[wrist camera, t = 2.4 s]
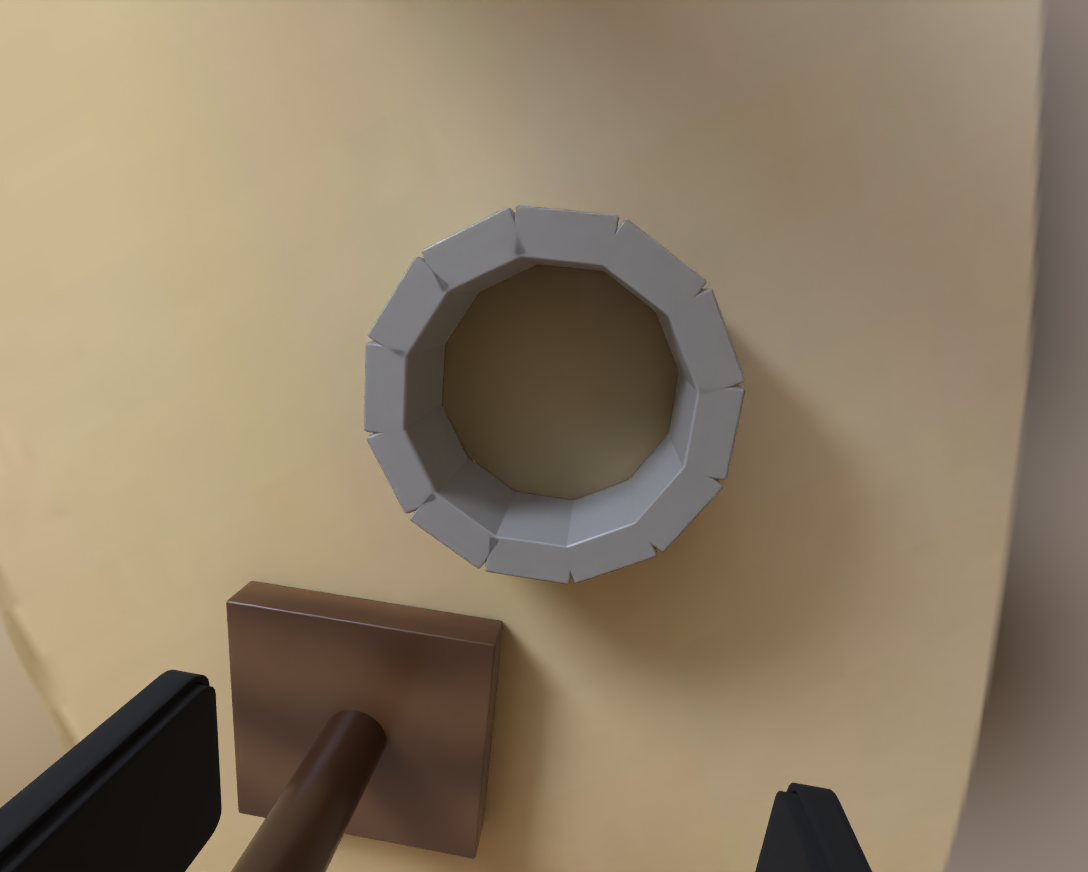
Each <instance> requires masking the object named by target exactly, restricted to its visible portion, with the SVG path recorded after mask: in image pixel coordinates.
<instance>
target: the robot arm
mask: <svg viewBox="0 0 1088 872" xmlns="http://www.w3.org/2000/svg"><path fill="white" fill-rule="evenodd" d="M220 816H221V789H220V770H219V750H218V731H217V712H216V693H215V689H214V688H213V687H211V686H209V681H208V678H207V677H206V676H204V675H199V674H193V673H188V672H182V671H177V670H169V671H166V672H165V673H163V674H162V675H160V676H159V677H158V678H157V679H155V680H154V681H153V682H152V683H150V684H149V685H148V686H147V687H146V688H144V689H143V690H142V691H141V692H140V693H138V694H137V695H136V696H135V697H134V698H132V699H131V700H130V701H129V702H128V703H126V704H125V705H124V706H123V707H122V708H120V709H119V710H118V711H117V712H116V713H114V714H113V715H112V716H111V717H110V718H108V719H107V720H106V721H105V722H104V723H102V724H101V725H100V726H99V727H98V728H96V729H95V730H94V731H93V732H91V733H90V734H89V735H88V736H87V737H85V738H84V739H83V740H82V741H81V742H79V743H78V744H77V745H76V746H75V747H73V748H72V749H71V750H70V751H69V752H67V753H66V754H65V755H64V756H63V757H62V758H60V759H59V760H58V761H57V762H55V763H54V764H53V765H52V766H51V767H49V768H48V769H47V770H46V771H45V772H43V773H42V774H41V775H40V776H39V777H37V778H36V779H35V780H34V781H33V782H31V783H30V784H29V785H28V786H27V787H25V788H24V789H23V790H22V791H20V792H19V793H18V794H17V795H16V796H14V797H13V798H12V799H11V800H10V801H9V802H7V803H6V804H5V805H4V806H2V807H1V808H0V872H185V871H186V869H187V868H188V867H189V865H190V864H191V863H192V861H193V860H194V859H195V857H196V856H197V855H198V853H199V852H200V851H201V849H202V848H203V847H204V845H205V844H206V843H207V841H208V840H209V839H210V837H211V836H212V834H213V833H214V831H215V829H216V827H217V825H218V822H219V819H220ZM755 872H872V871H871V869H870V866H869V864H868V862H867V860H866V858H865V856H864V854H863V851H862V849H861V847H860V845H859V843H858V841H857V838H856V836H855V834H854V832H853V830H852V828H851V825H850V823H849V821H848V819H847V817H846V815H845V812H844V810H843V808H842V806H841V804H840V802H839V799H838V798H837V796H836V794H835V793H834V792H833V791H832V790H831V789H825V788H820V787H814V786H809V785H803V784H798V783H791V784H790V785H789V787H788V789H787V792H783V791H779V792H778V793H777V794H776V797H775V800H774V804H773V808H772V812H771V815H770V819H769V823H768V826H767V830H766V834H765V838H764V841H763V845H762V849H761V853H760V856H759V860H758V864H757V867H756V871H755Z"/></svg>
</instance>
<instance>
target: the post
mask: <svg viewBox="0 0 1088 872" xmlns="http://www.w3.org/2000/svg"><path fill="white" fill-rule="evenodd" d="M226 605H227V622H228V639H229V656H230V673H231V690H232V707H233V724H234V741H235V758H236V775H237V792H238V809H239V812H240V813H243V814H249V815H254V816H259V817H264V818H266V819H265V820H264V822H263V823H262V825H261V826H260V828H259V829H258V831H257V832H256V834H255V836H254V837H253V839H252V840H251V842H250V843H249V845H248V846H247V848H246V849H245V851H244V853H243V854H242V856H241V857H240V859H239V860H238V862H237V863H236V865H235V867H234V868H233V870H232V871H231V872H326V870H327V868H328V866H329V864H330V862H331V860H332V858H333V855H334V853H335V851H336V849H337V847H338V845H339V843H340V841H341V839H342V837H343V835H344V833H345V834H351V835H356V836H361V837H366V838H371V839H376V840H381V841H386V842H391V843H396V844H401V845H407V846H412V847H417V848H422V849H427V850H432V851H437V852H442V853H447V854H452V855H458V856H463V857H468V858H473V859H474V858H475V857H476V853H477V849H478V845H479V840H480V836H481V832H482V827H483V820H484V810H485V800H486V790H487V780H488V770H489V759H490V749H491V739H492V729H493V719H494V709H495V699H496V689H497V679H498V668H499V658H500V648H501V638H502V628H503V622H502V621H498V620H492V619H485V618H479V617H473V616H467V615H460V614H454V613H448V612H442V611H436V610H429V609H423V608H417V607H411V606H404V605H398V604H392V603H386V602H379V601H373V600H367V599H361V598H355V597H348V596H342V595H336V594H330V593H323V592H317V591H311V590H305V589H299V588H292V587H286V586H280V585H274V584H267V583H261V582H255V581H251V582H249V583H248V584H247V585H246V586H245V587H243V588H242V589H241V590H240V591H238V592H237V593H236V594H235V595H234V596H232V597H231V598H230V599H229V600H227V603H226Z"/></svg>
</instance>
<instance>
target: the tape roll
mask: <svg viewBox="0 0 1088 872" xmlns="http://www.w3.org/2000/svg"><path fill="white" fill-rule="evenodd" d="M618 220H619V217H618V215H612V214H602V213H592V212H581V211H571V210H561V209H551V208H541V207H531V206H521V205H518V206H517V207H516V213H515V212H514V211H513V210H512V209H510V208H509V207H507V208H505V209H503V210H501V211H499V212H497V213H495V214H493V215H491V216H489V217H487V218H485V219H483V220H481V221H479V222H477V223H475V224H473V225H471V226H469V227H467V228H465V229H463V230H461V231H459V232H457V233H455V234H453V235H451V236H449V237H447V238H445V239H444V240H442V241H440V242H438V243H436V244H434V245H432V246H430V247H428V248H426V249H424V250H422V254H423V257H424V258H421V257H415V258H414V260H413V261H412V263H411V265H410V266H409V268H408V269H407V271H406V273H405V274H404V276H403V278H402V279H401V281H400V283H399V284H398V286H397V288H396V289H395V291H394V292H393V294H392V296H391V297H390V299H389V301H388V302H387V304H386V306H385V307H384V309H383V310H382V312H381V314H380V315H379V317H378V319H377V320H376V322H375V324H374V325H373V327H372V328H371V330H370V332H369V333H368V336H369V337H370V338H371V339H372V340H374V341H372V342H368V343H366V351H365V409H364V430H365V431H367V432H373V434H371V435H369V436H368V437H367V441H368V443H369V445H370V447H371V449H372V451H373V453H374V455H375V457H376V458H377V460H378V462H379V464H380V466H381V468H382V470H383V472H384V474H385V476H386V478H387V480H388V481H389V483H390V485H391V487H392V489H393V491H394V493H395V495H396V497H397V499H398V501H399V503H400V504H401V506H402V508H403V510H404V512H405V513H411V512H413V511H415V512H414V514H413V515H412V516H411V518H410V520H411V521H412V522H413V523H415V524H416V525H418V526H419V527H420V528H422V529H423V530H425V531H426V532H427V533H429V534H430V535H432V536H433V537H434V538H436V539H437V540H439V541H440V542H441V543H443V544H444V545H446V546H447V547H449V548H450V549H451V550H453V551H454V552H456V553H457V554H458V555H460V556H461V557H463V558H464V559H465V560H467V561H468V562H470V563H471V564H472V565H474V566H475V567H477V568H478V569H479V568H481V566H482V565H483V564H484V563H485V561H486V565H485V570H486V571H487V572H492V573H499V574H505V575H512V576H518V577H525V578H531V579H538V580H544V581H551V582H557V583H564V584H569V583H570V578H571V575H572V577H573V579H574V581H575V582H576V583H579V582H582V581H585V580H588V579H591V578H594V577H597V576H600V575H603V574H606V573H609V572H612V571H615V570H618V569H621V568H624V567H626V566H629V565H632V564H635V563H638V562H641V561H644V560H647V559H650V558H653V557H656V556H657V551H656V548H657V549H659V550H660V551H662V552H664V551H665V550H666V549H667V548H668V547H669V546H670V545H671V543H672V542H673V541H674V540H675V539H676V538H677V537H678V536H679V535H680V534H681V533H682V531H683V530H684V529H685V528H686V527H687V526H688V525H689V524H690V523H691V522H692V521H693V519H694V518H695V517H696V516H697V515H698V514H699V513H700V512H701V511H702V510H703V509H704V507H705V506H706V505H707V504H708V503H709V502H710V501H711V500H712V499H713V498H714V497H715V495H716V494H717V493H718V492H719V491H720V490H721V489H722V487H723V486H722V484H721V483H720V481H719V479H720V480H725V479H726V478H727V475H728V471H729V466H730V461H731V456H732V452H733V447H734V442H735V437H736V432H737V428H738V423H739V418H740V413H741V409H742V404H743V399H744V394H745V389H744V388H742V387H741V386H740V385H738V384H740V383H743V382H744V381H745V378H744V376H743V373H742V370H741V367H740V365H739V362H738V359H737V356H736V354H735V351H734V348H733V345H732V342H731V340H730V337H729V334H728V331H727V329H726V326H725V323H724V320H723V318H722V315H721V312H720V309H719V307H718V304H717V301H716V298H715V295H714V293H713V290H712V289H702V288H703V287H704V286H705V284H706V280H705V279H703V278H702V277H701V276H700V275H698V274H697V273H696V272H694V271H693V270H692V269H691V268H689V267H688V266H687V265H686V264H684V263H683V262H682V261H680V260H679V259H678V258H677V257H675V256H674V255H673V254H671V253H670V252H669V251H668V250H666V249H665V248H664V247H662V246H661V245H660V244H659V243H657V242H656V241H655V240H653V239H652V238H651V237H650V236H648V235H647V234H646V233H645V232H643V231H642V230H641V229H639V228H638V227H637V226H636V225H634V224H633V223H632V222H630V221H629V220H628V219H625V220H624V221H623V223H622V224H621V225H620V227H619V228H618V230H617V227H618ZM537 264H540V265H550V266H559V267H568V268H578V269H587V270H596V271H604V272H605V273H606V274H608V275H609V276H610V277H611V278H613V279H614V280H615V281H617V282H618V283H619V284H621V285H622V286H623V287H624V288H626V289H627V290H628V291H630V292H631V293H632V294H634V295H635V296H636V297H637V298H639V299H640V300H641V301H643V302H644V303H645V304H647V305H648V306H649V307H650V308H652V309H653V310H654V311H656V314H657V316H658V319H659V321H660V324H661V327H662V329H663V332H664V334H665V337H666V339H667V342H668V345H669V347H670V350H671V352H672V355H673V358H674V360H675V363H676V365H677V368H678V371H679V375H678V381H677V387H676V392H675V398H674V404H673V410H672V415H671V421H670V427H669V433H668V434H667V435H666V437H665V438H664V439H663V440H662V441H661V443H660V444H659V445H658V446H657V447H656V448H655V450H654V451H653V452H652V453H651V454H650V456H649V457H648V458H647V459H646V460H645V461H644V463H643V464H642V465H641V466H640V467H639V469H638V470H637V471H636V472H635V473H634V474H633V476H632V477H631V478H630V479H629V480H627V481H624V482H622V483H619V484H616V485H614V486H611V487H608V488H605V489H603V490H600V491H597V492H595V493H592V494H589V495H587V496H584V497H581V498H579V499H576V500H569V499H562V498H554V497H547V496H540V495H533V494H526V493H519V492H515V491H514V490H512V489H511V488H510V487H508V486H507V485H505V484H504V483H503V482H501V481H500V480H498V479H497V478H496V477H494V476H493V475H492V474H490V473H489V472H487V471H486V470H485V469H483V468H482V467H481V466H479V465H478V464H476V463H475V462H474V461H472V460H471V459H470V458H468V457H467V455H466V453H465V451H464V449H463V447H462V445H461V443H460V441H459V439H458V437H457V435H456V433H455V431H454V428H453V426H452V424H451V422H450V420H449V418H448V416H447V414H446V412H445V410H444V408H443V406H442V393H443V375H444V358H445V344H446V342H447V341H448V339H449V338H450V336H451V335H452V333H453V331H454V330H455V328H456V327H457V325H458V324H459V322H460V321H461V319H462V318H463V316H464V315H465V313H466V312H467V310H468V309H469V307H470V306H471V304H472V303H473V301H474V300H475V298H476V297H477V295H478V294H479V292H480V291H482V290H485V289H487V288H489V287H491V286H493V285H495V284H497V283H499V282H501V281H504V280H506V279H508V278H510V277H512V276H514V275H516V274H518V273H520V272H523V271H525V270H527V269H529V268H531V267H533V266H535V265H537Z"/></svg>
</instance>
